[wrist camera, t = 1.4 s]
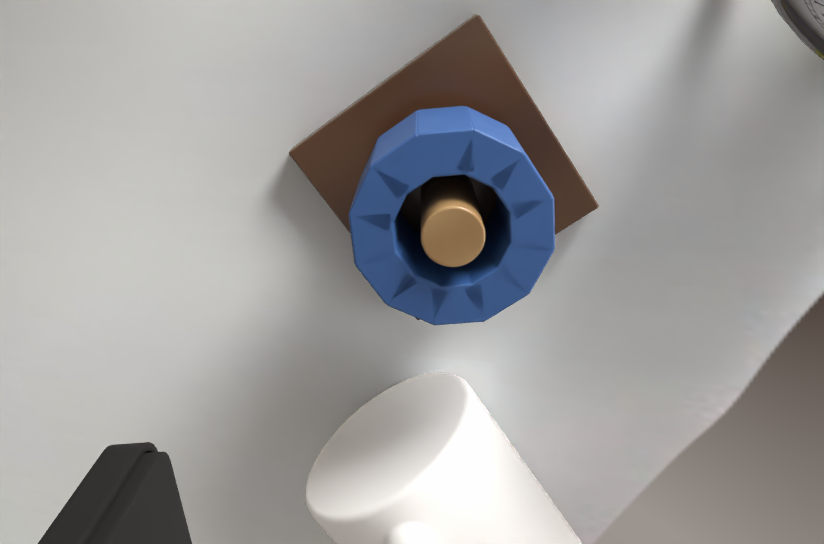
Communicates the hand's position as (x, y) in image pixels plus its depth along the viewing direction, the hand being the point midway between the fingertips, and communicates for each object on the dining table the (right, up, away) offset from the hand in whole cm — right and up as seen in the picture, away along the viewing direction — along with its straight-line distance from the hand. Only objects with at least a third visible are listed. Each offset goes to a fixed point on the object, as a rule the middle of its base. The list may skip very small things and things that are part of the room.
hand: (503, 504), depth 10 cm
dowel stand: (0, +7, +19) cm, 20 cm away
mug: (0, -6, +25) cm, 25 cm away
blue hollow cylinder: (0, +6, +16) cm, 17 cm away
